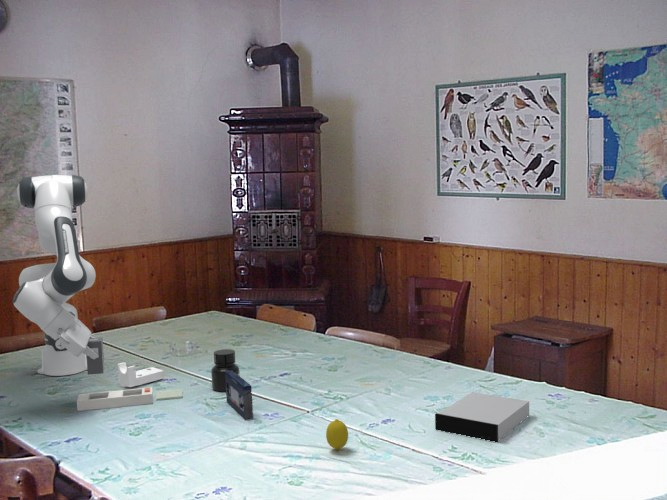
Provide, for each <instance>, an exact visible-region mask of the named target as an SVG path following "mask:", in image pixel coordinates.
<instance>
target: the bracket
mask: <svg viewBox="0 0 667 500" xmlns="http://www.w3.org/2000/svg"><path fill="white" fill-rule="evenodd" d="M116 365H117V377H118V378H117V380H118V386H119V385H120V387H122V388H132V387H136V386H137V387H138V386H141V385H145V384H148V383H151V382H155V381H159V380H163V379H165V372H164V370H163V369H160V368H156V367H153V366H152V367H146V368H144V369H140V370H139V369H138V370H136V369H137V368H136V365H131V366H127V362H126V361H125V362H120V363H117V364H116Z"/></svg>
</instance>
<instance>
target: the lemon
mask: <svg viewBox="0 0 667 500" xmlns="http://www.w3.org/2000/svg"><path fill="white" fill-rule="evenodd" d="M325 436H326V442H327V443H328V445H329V447H331V448H333V449H334V450H336V451H340V450H341V449H342V448H343V447H344V446H346V445H347V444H348V440H349V431H348V427H347V425H346V423H344V421H342V420H340V419H335V420H333V421H331V422H330V423H329V424H328V426H327V428H326V432H325Z"/></svg>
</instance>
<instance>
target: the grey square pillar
mask: <svg viewBox="0 0 667 500" xmlns="http://www.w3.org/2000/svg"><path fill="white" fill-rule="evenodd" d="M103 342H104V339H103V337H90V338H89V340H88V344H87V346H88V347H89V348H90V349H91V350H93V351H95V352H96V353H97V354H98V356H97V358H96V359H92V358H91V357H90V356H87V370H86V371H87V375H99V374H101V375H102V374H104V373H105V354H104V343H103Z"/></svg>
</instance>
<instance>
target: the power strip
mask: <svg viewBox="0 0 667 500" xmlns="http://www.w3.org/2000/svg"><path fill="white" fill-rule="evenodd" d="M150 404H154V390H153V387H152V386H151V387H144V388H143V387H142V388H141V387H139V388H133V389H122V390H121V389H120V390H110V391H100V392H87V393H79V394H78V396H77V399H76V407H77V412H80V411H89V410H90V411H91V410H100V409H112V408H121V407H130V406H139V405H140V406H141V405H150Z"/></svg>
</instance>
